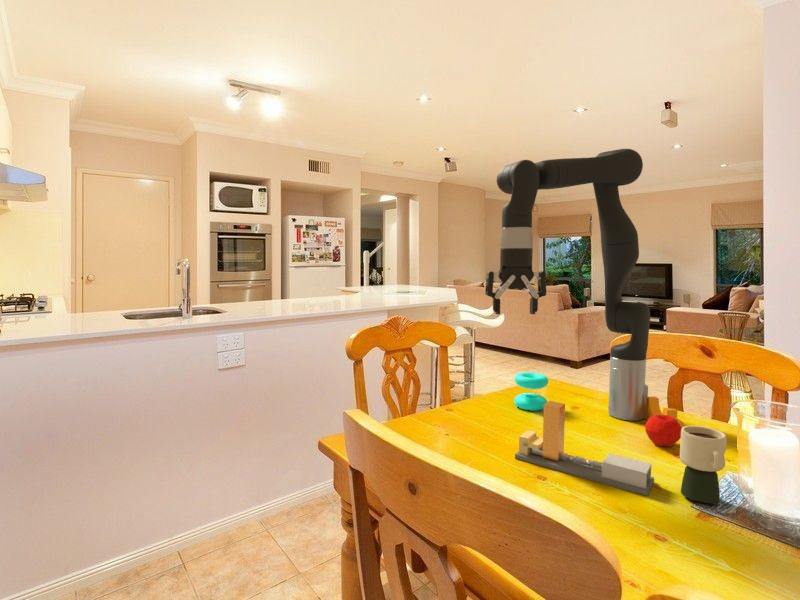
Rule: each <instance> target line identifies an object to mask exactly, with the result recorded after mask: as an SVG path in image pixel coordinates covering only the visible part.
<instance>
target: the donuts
mask: <svg viewBox="0 0 800 600" xmlns="http://www.w3.org/2000/svg"><path fill="white" fill-rule="evenodd" d="M514 382H515V384H516V385H517V386H519V387H521V388H524V389H529V390H540V389H544V388H545V387H547V385H548V384H549V379H548V376H546V375H544V374H542V373H538V372H528V371H527V372H520V373H517V374H516V375H515V376H514ZM513 402H514V405H515V406H516V407H517V408H518V407H519V409H520V410H523V411H528V410H530V411H531V412H539V410H540V411H544V404H545V403H547V402H548V400H547V398H546V397H545V396H543V395H541V394H537V393H533V392H527V393H526V392H524V393H520V394H517V395H516V396H515V397H514V401H513Z"/></svg>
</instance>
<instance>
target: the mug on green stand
mask: <svg viewBox="0 0 800 600" xmlns="http://www.w3.org/2000/svg"><path fill="white" fill-rule="evenodd" d="M727 437H728V436H727V435H726V433H724V432H723V431H720V430H718V429H714V428H712V427H706V426H701V425H684V427H683V428H682V429H681V438H680V444H679V445H680V446H679V447H680V448H679V460H680V462H681V463H682V464H684V465H685V467H684V472H683V477H682V480H681V485H680V486H681V488H680V493H681V495H682V496H684V497H685V498H687V499H690V500H691V501H692V500H693V501H697V502H700V503H703V502H705V503H706V504H713V505H717V504H719V503H720V502H721V496H720V495H721V494H720V493H721V492H720V483H719V476H718V473H717V472H720V471H723V469H724V468H725V467H726V460H725V453H726V450H727V439H728V438H727ZM705 503H704V504H705Z"/></svg>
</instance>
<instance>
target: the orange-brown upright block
mask: <svg viewBox="0 0 800 600" xmlns="http://www.w3.org/2000/svg"><path fill="white" fill-rule="evenodd" d="M542 417H543V422H542V425H543V426H542V427H543V428H542V438H543V446H542V447H541V448H540V449H539V450H537V449H533V448H532V453H534V454H537V455H541V456H542V457H544V458H548V459H552V460H555V461H559V460H560V459H563V460H566V461H567V460H569V461H573V462H574V461H575V463H578V464H581V465H588V466H592V468H596V469H600V470H602V462H603V461H597V460H592V459H587V458H585V457H582V456H577V455H571V454H568V453H566V452H564V451H565V417H566V404H565V403H563V402H558V401H552V400H549V401H548V400H547V403H545V404H544V410H543V416H542ZM592 461H593V464H592Z"/></svg>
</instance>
